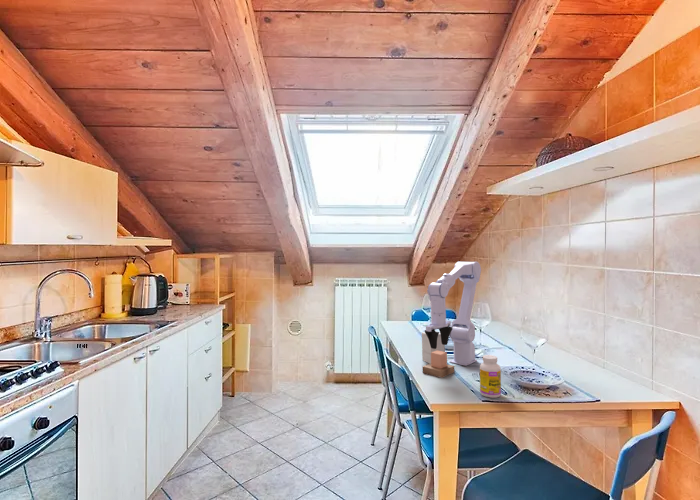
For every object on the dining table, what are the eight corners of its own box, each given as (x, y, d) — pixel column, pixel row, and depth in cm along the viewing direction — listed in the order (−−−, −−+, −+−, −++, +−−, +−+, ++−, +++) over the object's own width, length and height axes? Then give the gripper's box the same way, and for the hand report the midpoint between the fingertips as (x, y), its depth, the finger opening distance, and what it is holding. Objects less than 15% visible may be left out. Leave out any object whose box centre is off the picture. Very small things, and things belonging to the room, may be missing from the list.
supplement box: (445, 362, 168) (445, 333, 168) (431, 364, 165) (430, 335, 165) (435, 358, 175) (435, 330, 175) (421, 360, 172) (421, 332, 172)
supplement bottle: (488, 399, 127) (487, 360, 127) (476, 392, 133) (475, 355, 133) (505, 397, 129) (504, 358, 129) (493, 390, 135) (492, 353, 135)
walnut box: (435, 368, 162) (435, 361, 162) (454, 373, 155) (454, 365, 155) (422, 373, 156) (422, 366, 156) (441, 379, 149) (441, 371, 149)
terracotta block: (437, 363, 159) (437, 350, 159) (447, 366, 155) (446, 352, 155) (431, 366, 155) (430, 352, 155) (440, 368, 152) (440, 354, 152)
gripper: (436, 316, 147) (437, 351, 147) (457, 311, 157) (457, 344, 157) (421, 314, 152) (422, 348, 153) (442, 309, 162) (442, 341, 162)
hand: (439, 346), depth 155 cm, fingers open, 7 cm apart
